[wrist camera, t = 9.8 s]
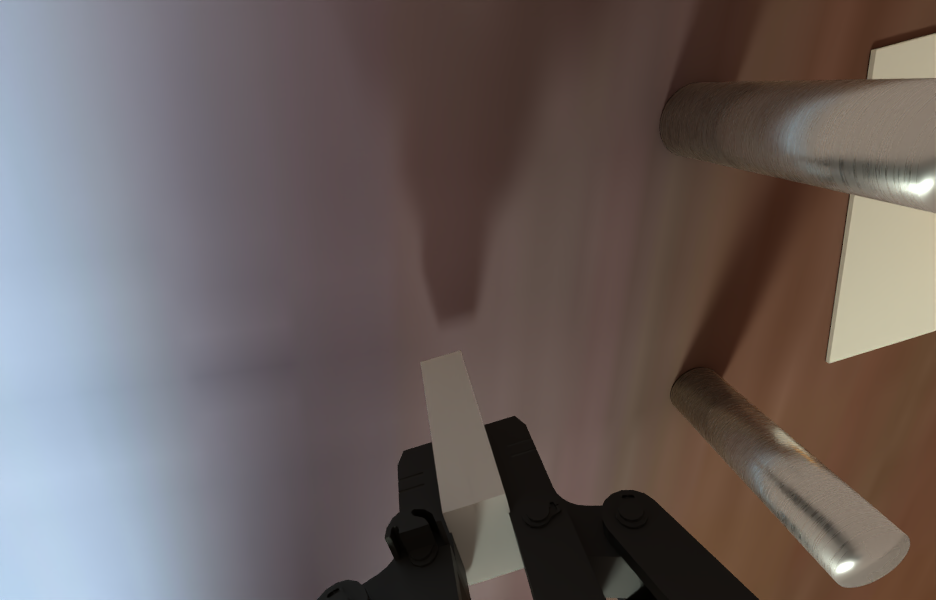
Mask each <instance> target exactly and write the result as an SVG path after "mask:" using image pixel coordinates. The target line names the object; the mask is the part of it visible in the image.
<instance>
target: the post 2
mask: <svg viewBox="0 0 936 600" xmlns="http://www.w3.org/2000/svg"><path fill="white" fill-rule="evenodd" d="M670 397H671V402H672V404H673V405H674V406H675V407H676V409H677V410H678V411H679V412H680V413H681V414H682V415H683V416H684V417H685V418H686V419H687V420H688V422H689V423H690V424H691V425H692V426H693V427H694V428H695V429H696V430H697V431H698V432H699V434H700V435H701V436H702V437H703V438H704V439H705V440H706V441H707V442H708V443H709V444H710V445H711V447H712V448H713V449H714V450H715V451H716V452H717V453H718V454H719V455H720V456H721V457H722V459H723V460H724V461H725V462H726V463H727V464H728V465H729V466H730V467H731V468H732V469H733V470H734V472H735V473H736V474H737V475H738V476H739V477H740V478H741V479H742V480H743V481H744V482H745V483H746V485H747V486H748V487H749V488H750V489H751V490H752V491H753V492H754V493H755V494H756V495H757V497H758V498H759V499H760V500H761V501H762V502H763V503H764V504H765V505H766V506H767V507H768V508H769V510H770V511H771V512H772V513H773V514H774V515H775V516H776V517H777V518H778V519H779V520H780V522H781V523H782V524H783V525H784V526H785V527H786V528H787V529H788V530H789V531H790V532H791V533H792V535H793V536H794V537H795V538H796V539H797V540H798V541H799V542H800V543H801V544H802V545H803V546H804V548H805V549H806V550H807V551H808V552H809V553H810V554H811V555H812V556H813V557H814V558H815V560H816V561H817V562H818V563H819V564H820V565H821V566H822V567H823V568H824V569H825V570H826V571H827V573H828V574H829V575H830V576H831V577H832V578H833V579H834V580H835V581H836V582H837V583H838V584H839V585H840V586H843V587H848V588H851V587H859V586H863V585H866V584H869V583H871V582H874V581H876V580H878V579H880V578H881V577H883V576H885V575H886V574H887V573H889V572H890V571H891V570H893V569H894V568H895V567H896V566H897V565H898V564H899V563H900V562H901V561H902V560H903V558H904V557H905V556H906V554H907V552H908V550H909V546H910V540H909V537H908V536H907V535H906V534H905V533H904V532H902V531H901V530H900V529H899V528H898V527H897V526H895V525H894V524H893V523H892V522H891V521H889V520H888V519H887V518H886V517H885V516H884V515H882V514H881V513H880V512H879V511H878V510H877V509H875V508H874V507H873V506H872V505H871V504H869V503H868V502H867V501H866V500H865V499H864V498H862V497H861V496H860V495H859V494H858V493H857V492H855V491H854V490H853V489H852V488H851V487H850V486H848V485H847V484H846V483H845V482H844V481H842V480H841V479H840V478H839V477H838V476H837V475H835V474H834V473H833V472H832V471H831V470H830V469H828V468H827V467H826V466H825V465H824V464H822V463H821V462H820V461H819V460H818V459H817V458H815V457H814V456H813V455H812V454H811V453H810V452H808V451H807V450H806V449H805V448H804V447H803V446H801V445H800V444H799V443H798V442H797V441H795V440H794V439H793V438H792V437H791V436H790V435H788V434H787V433H786V432H785V431H784V430H783V429H781V428H780V427H779V426H778V425H777V424H775V423H774V422H773V421H772V420H771V419H770V418H768V417H767V416H766V415H765V414H764V413H763V412H761V411H760V410H759V409H758V408H757V407H756V406H754V405H753V404H752V403H751V402H750V401H748V400H747V399H746V398H745V397H744V396H743V395H741V394H740V393H739V392H738V391H737V390H736V389H734V388H733V387H732V386H731V385H730V384H728V383H727V382H726V381H725V380H724V379H723V378H721V377H720V376H719V375H718V374H717V373H716V372H714V371H713V370H711V369H709V368H696V369H692V370H690V371H688V372H686V373H685V374H683V375H682V376H681V377H680V378H679V379H678V380H677V381H676V382H675V384H674V385H673V388H672V390H671V395H670Z"/></svg>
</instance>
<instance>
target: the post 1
mask: <svg viewBox="0 0 936 600" xmlns="http://www.w3.org/2000/svg"><path fill="white" fill-rule="evenodd" d="M660 135H661V139H662V141H663V143H664V145H665V146H666V148H667V149H668V150H669V151H670V152H672V153H674V154H676V155H679V156H684V157H688V158H692V159H697V160H701V161H706V162H710V163H715V164H719V165H723V166H728V167H732V168H737V169H741V170H746V171H750V172H755V173H759V174H763V175H768V176H772V177H777V178H781V179H786V180H790V181H794V182H799V183H803V184H808V185H812V186H817V187H821V188H826V189H830V190H834V191H839V192H843V193H848V194H852V195H857V196H861V197H865V198H870V199H874V200H879V201H883V202H888V203H892V204H896V205H901V206H905V207H910V208H914V209H919V210H923V211H928V212H932V213H936V78H908V79H855V80H802V81H750V82H699V83H692V84H689V85H686V86H684V87H682V88H681V89H679V90H678V91H677V92H676V93H675V94H674V95H673V96H672V97H671V98H670V100H669V101H668V102H667V104H666V106H665V108H664V110H663V113H662V116H661V120H660Z"/></svg>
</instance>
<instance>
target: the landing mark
mask: <svg viewBox="0 0 936 600" xmlns="http://www.w3.org/2000/svg"><path fill="white" fill-rule="evenodd" d="M908 78H936V33H933V34H929V35H926V36H922V37H918V38H914V39H911V40H907V41H903V42H900V43H896V44H892V45H888V46H885V47H881V48H877V49H874V50H871V55H870V62H869V69H868V75H867V79H908ZM933 331H936V213H932V212H928V211H923V210H919V209H914V208H910V207H905V206H901V205H896V204H892V203H888V202H883V201H879V200H874V199H870V198H865V197H861V196H857V195H852V194H850V199H849V206H848V213H847V219H846V226H845V233H844V240H843V247H842V254H841V261H840V267H839V274H838V281H837V288H836V295H835V302H834V309H833V315H832V322H831V329H830V336H829V343H828V350H827V357H826V362H828V363H832V362H835V361H839V360H842V359H845V358H848V357H852V356H855V355H858V354H861V353H865V352H868V351H871V350H874V349H878V348H881V347H884V346H887V345H891V344H894V343H897V342H900V341H904V340H907V339H910V338H913V337H917V336H920V335H923V334H926V333H930V332H933Z"/></svg>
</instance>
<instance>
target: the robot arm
mask: <svg viewBox="0 0 936 600" xmlns="http://www.w3.org/2000/svg"><path fill="white" fill-rule="evenodd" d="M420 364H421V371H422V378H423V385H424V391H425V398H426V405H427V412H428V419H429V426H430V432H431V439H432V442H431V443H428V444H425V445H421V446H418V447H415V448H411V449H408V450H405V451H403V454H402V456H401V458H400V461H399V463H398V481H399V482H398V486H399V509H400V512H399V513H398V514H397V515H396V516H395V517H393V518H392V520H391V522H390V523H389V525H388V527H387V529H386V534H385V540H386V542H387V544H388V546H389V548H390V550H391V552H392V555H393V557H394V559H393V561H392V562H391V563H390V564H389V565H388V566H387V567H386V568H385V569H384V570H383V571H381V572H380V573H379V574H378V575H376V576H375V577H373V578H372V579H370V580H369V581H367V582H366V583H364V584H363V585H361V584H360V583H359V582H357V581H352V580H345V581H342V582H338V583H336V584H334V585H333V586H331V587H330V588H328V589H327V590H325V591H324V593H323V594H322V595H321V596H320V597H319V598H318V599H317V600H471V598H470V594H469V588H468V584H469V586H470V585H473V584H476V583H479V582H482V581H485V580H488V579H492V578H495V577H498V576H501V575H504V574H507V573H510V572H513V571H516V570H519V569H522V568H525V572H526V575H527V578H528V582H529V586H530V589H531V593H532V596H533V600H606V598H605V597H607V598H617V599H618V600H759V599H758V598H757V597H756V596H755V595H754V594H753V593H752V592H751V591H750V590H749V589H747V588H746V587H745V586H744V585H743V584H742V583H741V582H740V581H739V580H738V579H737V578H736V577H735V576H734V575H733V574H732V573H731V572H730V571H728V570H727V569H726V568H725V567H724V566H723V565H722V564H721V563H720V562H719V561H718V560H717V559H716V558H715V557H714V556H713V555H712V554H711V553H709V552H708V551H707V550H706V549H705V548H704V547H703V546H702V545H701V544H700V543H699V542H698V541H697V540H696V539H695V538H694V537H693V536H692V535H691V534H689V533H688V532H687V531H686V530H685V529H684V528H683V527H682V526H681V525H680V524H679V523H678V522H677V521H676V520H675V519H674V518H673V517H672V516H670V515H669V514H668V513H667V512H666V511H665V510H664V509H663V508H662V507H661V506H660V505H659V504H658V503H657V502H656V501H655V500H653V499H652V498H650V497H649V496H647V495H646V494H645V493H641V492H638V491H635V490H621V491H618V492H616V493H613V494H611V495H610V496H609V497H608V498H607V499H606V500H605V501H604V503H603V506H583V505H576V504H573V503H569V502H568V501H566V500H564V499H562V498H561V497H560V496H559V495H558V494H557V493H556V491H555V490H554V488H553V486H552V484H551V481H550V479H549V477H548V475H547V472H546V470H545V468H544V465H543V463H542V461H541V459H540V456H539V454H538V452H537V450H536V447H535V445H534V443H533V440H532V438H531V436H530V433H529V431H528V429H527V427H526V425H525V424H524V423H523V422H522V421H520V420H519V419H518V418H517V417H515V416H512V417H509V418H506V419H503V420H499V421H496V422H493V423H490V424H486V425H484V424H483V421H482V417H481V414H480V411H479V408H478V405H477V401H476V398H475V395H474V392H473V388H472V385H471V382H470V379H469V376H468V372H467V369H466V366H465V363H464V359H463V356H462V353H461V350H460V351H456V352H453V353H449V354H446V355H443V356H439V357H436V358H433V359H429V360H426V361H422V362H420ZM467 581H468V582H467Z"/></svg>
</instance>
